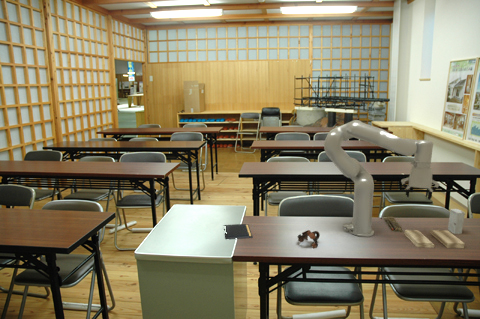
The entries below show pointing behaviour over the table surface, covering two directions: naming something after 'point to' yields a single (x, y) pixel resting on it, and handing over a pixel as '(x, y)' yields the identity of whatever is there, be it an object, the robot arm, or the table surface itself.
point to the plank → (419, 239)
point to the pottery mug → (311, 235)
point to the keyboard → (393, 224)
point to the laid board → (447, 239)
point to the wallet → (238, 231)
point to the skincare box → (456, 221)
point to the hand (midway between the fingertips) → (418, 197)
